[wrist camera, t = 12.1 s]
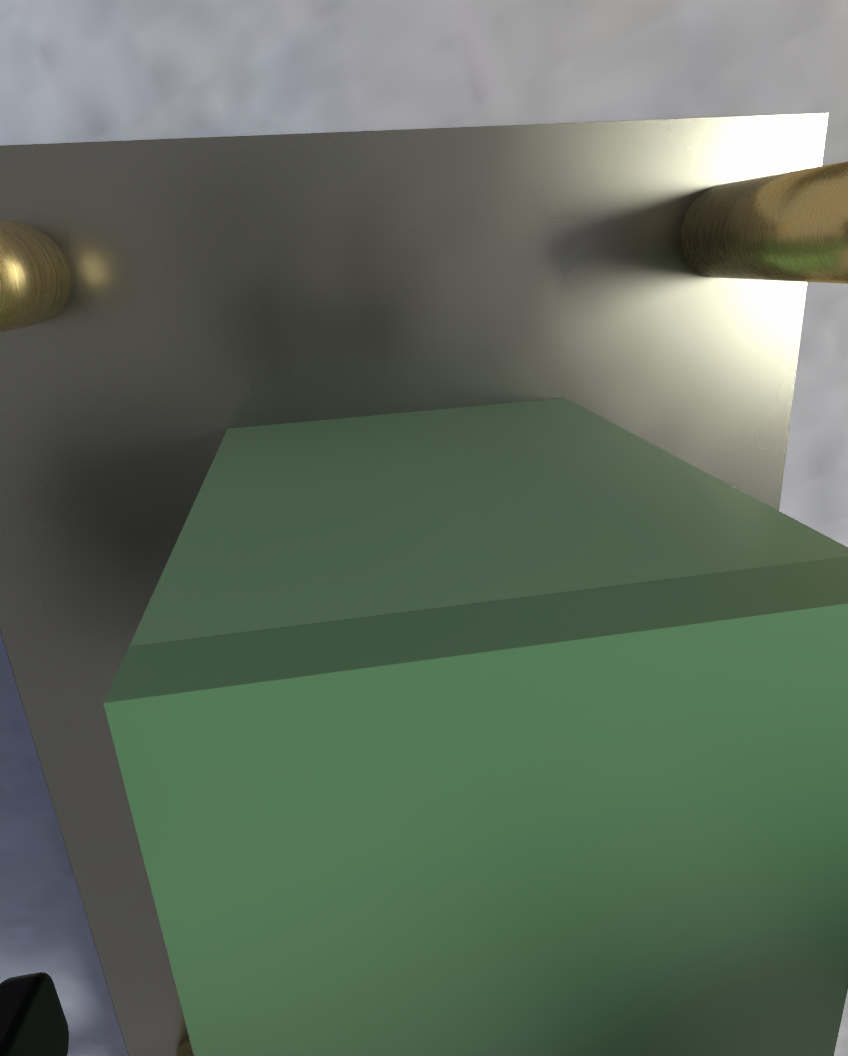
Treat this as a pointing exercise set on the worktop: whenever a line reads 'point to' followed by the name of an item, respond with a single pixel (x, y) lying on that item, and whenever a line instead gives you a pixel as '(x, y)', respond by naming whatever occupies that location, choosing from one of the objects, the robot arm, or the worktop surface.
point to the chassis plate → (352, 364)
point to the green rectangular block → (491, 747)
